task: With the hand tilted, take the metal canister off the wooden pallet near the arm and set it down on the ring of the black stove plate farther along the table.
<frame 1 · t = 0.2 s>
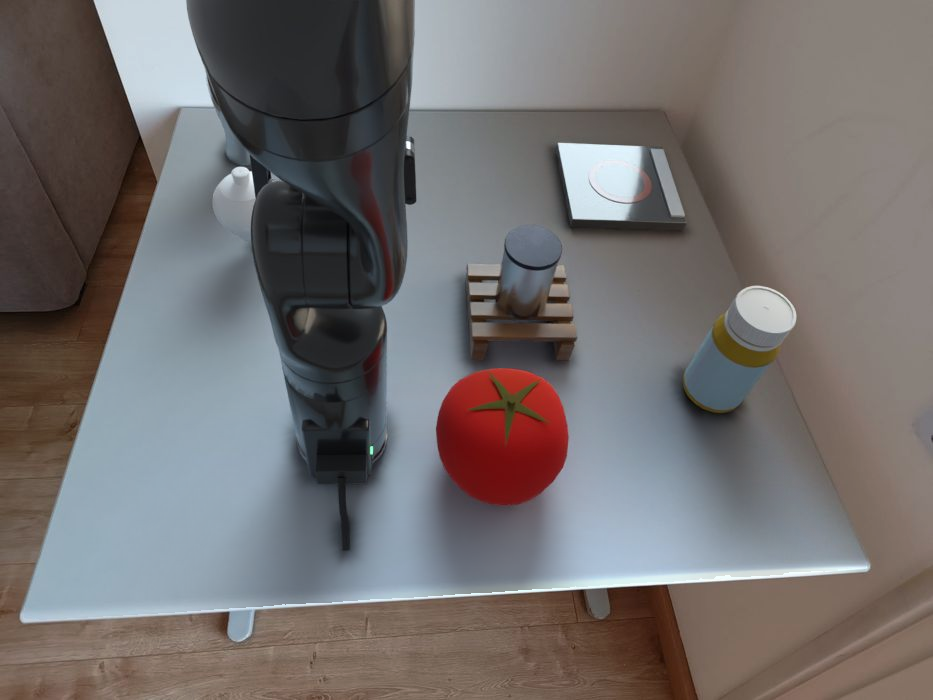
hand: (340, 226, 69), 17 cm above the table, tool pointing down, fingers open, 8 cm apart
spinning top: (256, 247, 90), on the table
wooden pallet: (515, 319, 86), on the table
bottle: (709, 390, 83), on the table
tomato: (495, 462, 75), on the table
stove: (617, 189, 102), on the table
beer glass: (249, 153, 100), on the table
metal canister: (520, 299, 83), point 4 cm above the table, touching wooden pallet
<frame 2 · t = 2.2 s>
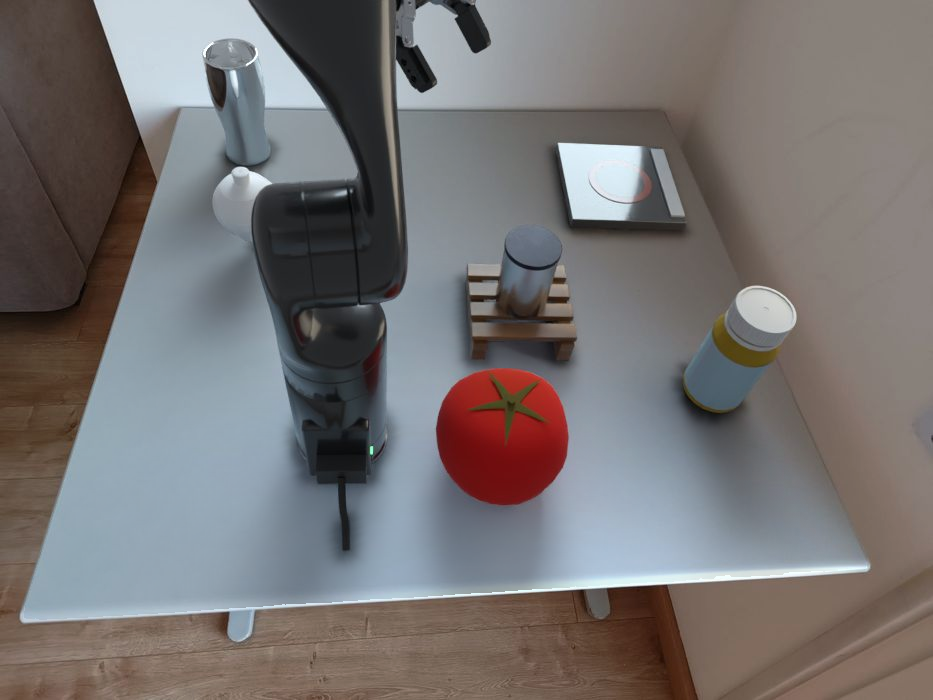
hand: (457, 68, 66), 29 cm above the table, tool tilted 45°, fingers open, 8 cm apart
nothing on the table moved.
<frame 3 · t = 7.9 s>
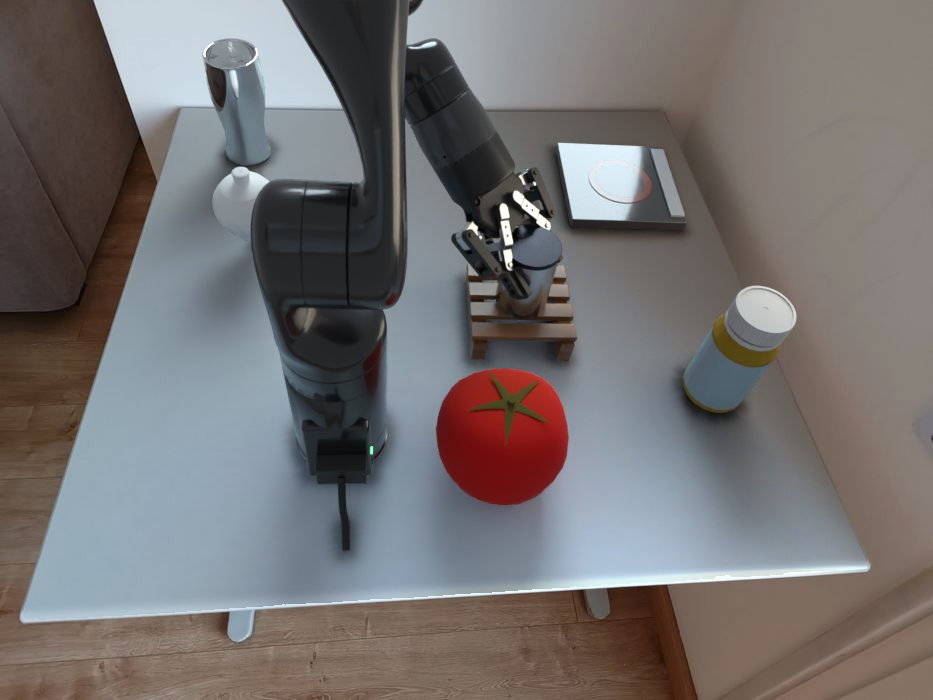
hand: (540, 278, 79), 9 cm above the table, tool tilted 45°, fingers closed on metal canister, 6 cm apart
metal canister: (520, 299, 83), point 4 cm above the table, touching wooden pallet, gripper
everything else where it was.
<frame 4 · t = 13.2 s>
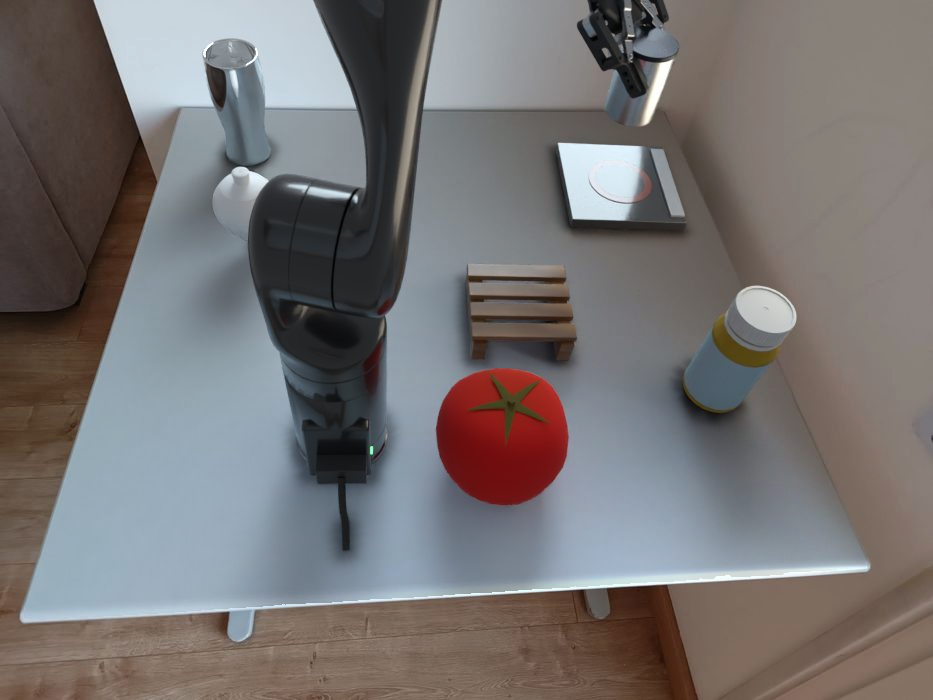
hand: (653, 81, 81), 21 cm above the table, tool tilted 45°, fingers closed on metal canister, 6 cm apart
metal canister: (628, 111, 85), point 17 cm above the table, touching gripper
everything else where it was.
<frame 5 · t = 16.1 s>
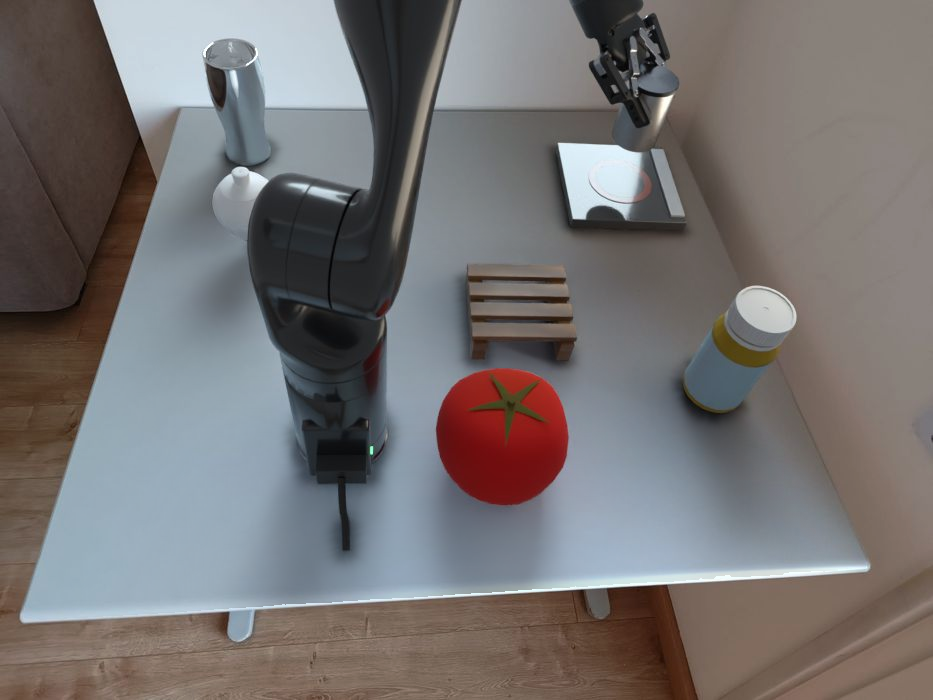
hand: (656, 112, 91), 14 cm above the table, tool tilted 45°, fingers closed on metal canister, 6 cm apart
metal canister: (633, 138, 95), point 9 cm above the table, touching gripper
everything else where it was.
when the fingers open (6 cm above the table, at t = 18.6 s): metal canister stays where it is, resting on stove.
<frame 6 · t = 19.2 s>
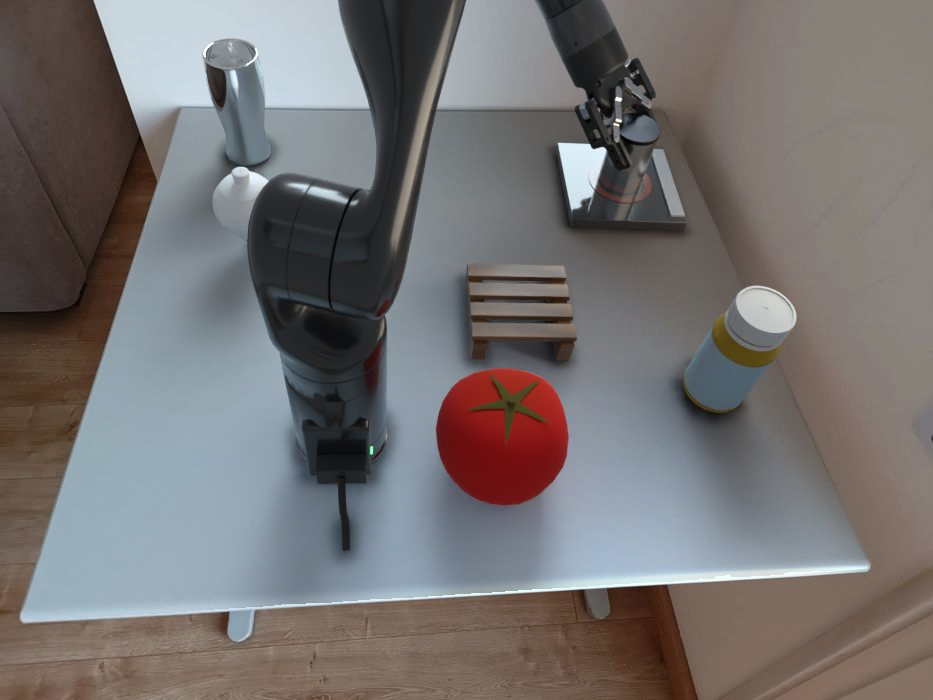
hand: (640, 152, 96), 7 cm above the table, tool tilted 45°, fingers open, 8 cm apart
metal canister: (619, 180, 101), point 2 cm above the table, touching stove
everything else where it was.
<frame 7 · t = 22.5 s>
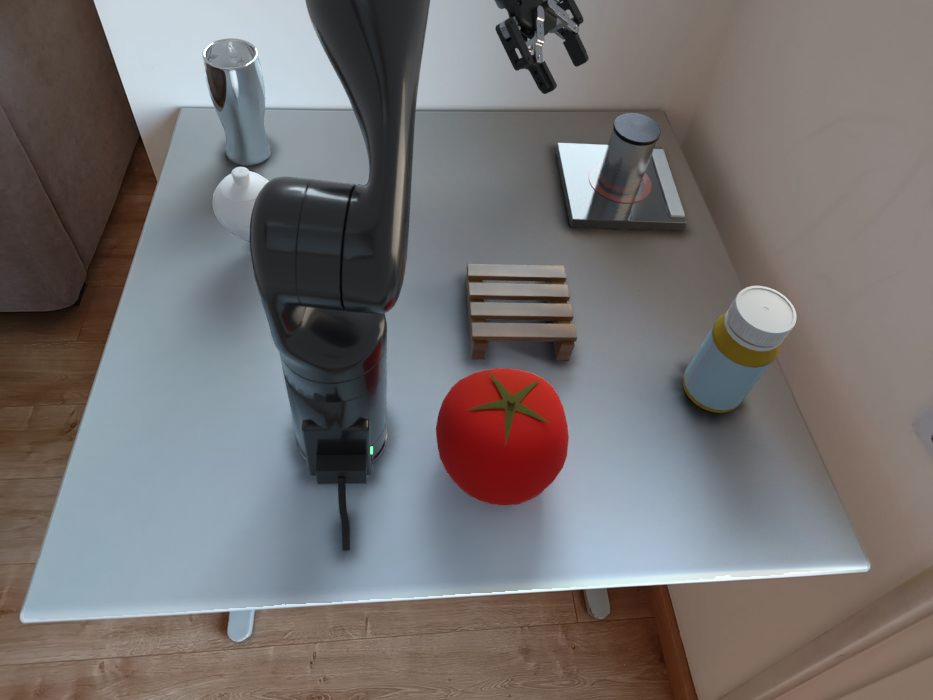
hand: (566, 77, 95), 13 cm above the table, tool tilted 45°, fingers open, 8 cm apart
nothing on the table moved.
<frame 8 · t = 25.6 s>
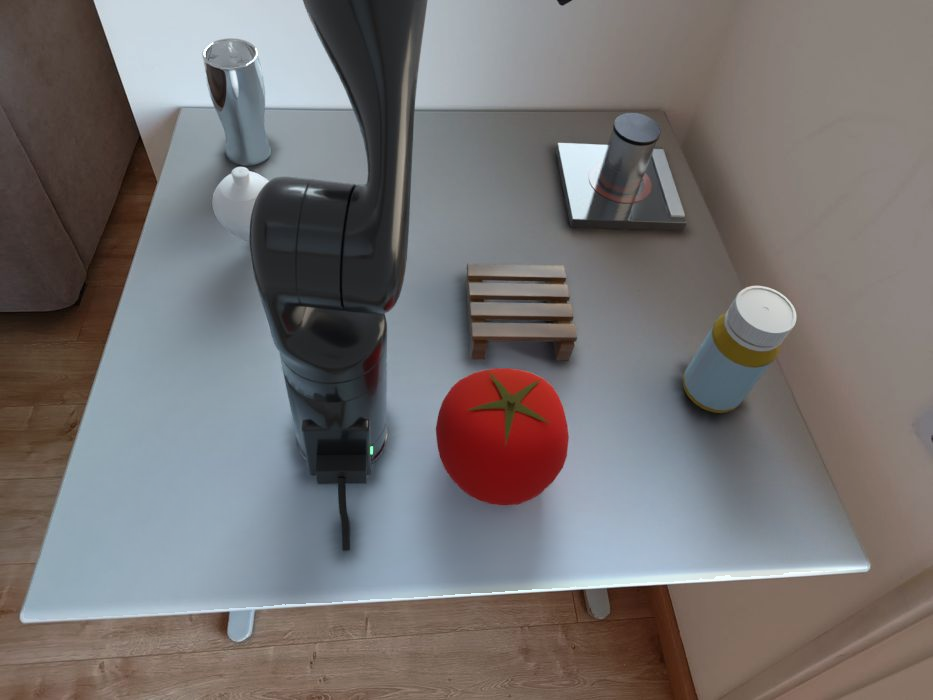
nothing on the table moved.
at the end: metal canister 0.1 cm off-centre on the stove, point 1.6 cm above the stove's base; metal canister tilted 0°; the gripper is holding nothing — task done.
